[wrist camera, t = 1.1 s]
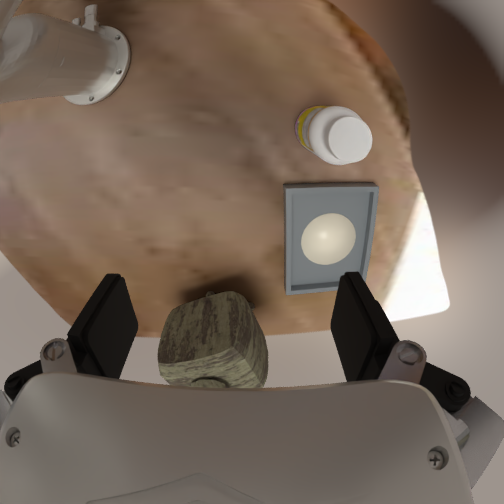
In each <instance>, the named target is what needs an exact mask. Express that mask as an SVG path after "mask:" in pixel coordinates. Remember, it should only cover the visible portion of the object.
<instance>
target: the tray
mask: <svg viewBox="0 0 504 504" xmlns="http://www.w3.org/2000/svg"><path fill="white" fill-rule="evenodd" d="M283 186H284V288H285V293H286V295H293V294H304V293H315V292H325V291H335V290H338V286H339V280H340V277H341V275H344V274H345V272H356V271H358V272H359V273H360V275H361V276H362V278H363V280H364V281H366V276H367V271H368V265H369V260H370V254H371V247H372V241H373V234H374V227H375V220H376V211H377V203H378V193H379V186H377V185H376V184H374V183H360V182H355V183H302V184H283Z"/></svg>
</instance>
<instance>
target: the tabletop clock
mask: <svg viewBox="0 0 504 504" xmlns="http://www.w3.org/2000/svg"><path fill="white" fill-rule="evenodd" d="M254 308H255V306H254V304H253V303H252V302H249V303H248V302H247V300H246V299H245V298H244V296H243V295H241V294H238V293H236V292H234V291H227V292H222V293H218V294H215V293H214V292H213V291H209V292H207V294H206V297H204V298H200V299H197V300H194V301H192V302H189V303H186V304H183V305H180V306H178V307H176V308H175V309H173V310H172V311H171V312H170V314H169V316H168V318H167V320H166V322H165V325H164V328H163V331H162V334H161V339H160V343H159V348H158V364H159V371H160V375H161V376H162V377H163V378H164V379H165V380H166V381H167V382H168V383H169V384H170V385H175V386H189V387H208V388H263V387H264V384H265V382H266V379H267V374H268V350H267V345H266V340H265V336H264V334H263V331H262V329H261V327H260V325H259V324H258V322H257V320H256V318H255V316H254V314H253V312H252V311H253V310H254Z"/></svg>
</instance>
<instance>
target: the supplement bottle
mask: <svg viewBox="0 0 504 504" xmlns="http://www.w3.org/2000/svg"><path fill="white" fill-rule="evenodd" d="M295 132H296V136H297V139H298V141H299V142H300V143H301V145H302V146H303V147H305V148H306V149H307V150H309V151H311V152H312V153H314V154H315V155H317V156H318V157H319V158H321V159H322V160H324V161H325V162H327V163H330V164H334V165H345V164H349V163H354V162H358V161H360V160H362V159H363V158H365V157H366V156H367V154H368V153H369V151H370V149H371V146H372V134H371V131H370V129H369V127H368V126H367V124H366V123H365V122H364V121H362V119H361V118H360V117H359V116H358V115H357V114H356V113H355V112H354V111H352V110H351V109H348V108H346V107H341V106H313V107H310V108H307V109H306V110H304V111H303V112H302V113H301V114H300V115H299V117H298V118H297V121H296V124H295Z"/></svg>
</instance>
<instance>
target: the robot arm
mask: <svg viewBox="0 0 504 504" xmlns="http://www.w3.org/2000/svg"><path fill="white" fill-rule="evenodd" d="M22 1H23V0H0V104H1V103H6V102H12V101H18V100H26V99H34V98H44V97H55V96H63V97H64V98H65V99H66V100H68V101H69V102H71V103H73V104H77V105H90V104H94V103H97V102H99V101H101V100H103V99H105V98H106V97H108V96H109V95H110V94H112V93H113V92H114V91H115V90H116V89H117V87H118V86H119V85H120V84H121V82H122V80H123V79H124V77H125V75H126V73H127V70H128V68H129V63H130V54H131V52H130V45H129V43H128V40H127V38H126V37H125V36H124V34H123V33H121V32H120V31H119V30H117V29H115V28H113V27H110V26H99V22H98V21H97V8H98V5H95V4H93V5H89V6H87V7H85V14H84V18H85V24H83V26H81V18H76V19H73V20H72V23H70V22H67V21H64V20H61V19H58V18H54V17H51V16H47V15H44V14H39V13H27V14H22V15H18V16H15V17H13V15H14V13H15V12H16V10H17V8H18V7H19V5H20V4H21V2H22ZM12 17H13V18H12ZM119 38H120V39H119ZM121 71H122V73H121V74H120V72H121ZM93 98H94V99H93ZM137 331H138V322H137V319H136V315H135V312H134V309H133V306H132V303H131V300H130V296H129V293H128V290H127V286H126V283H125V279H124V278H123V277H121V275H120V274H106V276H105V277H104V278H103V280H102V281H101V283H100V284H99V286H98V287H97V289H96V290H95V291H94V293H93V294H92V296H91V297H90V299H89V300H88V302H87V303H86V305H85V307H84V308H83V310H82V311H81V313H80V314H79V316H78V317H77V319H76V321H75V322H74V324H73V325H72V327H71V329H70V330H69V332H68V334H67V335H68V338H67V340H64V339H61V338H56V339H53V340H51V341H49V342H47V343H46V344H45V345H44V346H43V348H42V350H41V352H40V358H41V360H39V361H37V362H34V363H32V364H30V365H28V366H26V367H25V368H22V369H20V370H19V371H16V372H14V373H13V374H11V375H10V376H9V377H8V378H7V380H6V382H5V385H4V390H5V391H2V390H0V504H474V503H473V497H472V492H471V489H472V488H473V487H474V485H475V484H476V482H477V481H478V479H479V478H480V476H481V475H482V473H483V471H484V470H485V469H486V467H487V466H488V464H489V462H490V461H491V459H492V457H493V456H494V454H495V452H496V450H497V449H498V447H499V445H500V443H501V441H502V439H503V438H504V420H503V419H502V418H501V417H500V416H499V415H498V414H496V413H495V412H494V411H493V410H492V409H490V408H489V407H488V406H487V405H486V404H485V403H483V402H482V401H481V400H480V399H478V398H477V397H476V396H475V397H474V398H472V397H471V396H470V394H471V392H470V388H469V386H468V384H467V383H466V382H465V381H464V380H463V379H462V378H460V377H458V376H456V375H453V374H451V373H449V372H447V371H445V370H443V369H441V368H438V367H436V366H434V365H432V364H430V363H428V362H426V358H427V356H426V352H425V350H424V349H423V347H421V346H420V345H419V344H417V343H416V342H413V341H409V340H403V341H400V340H399V339H398V337H397V335H396V333H395V331H394V329H393V327H392V325H391V324H390V322H389V320H388V318H387V316H386V314H385V313H384V311H383V309H382V307H381V305H380V304H379V302H378V301H377V300H375V299H374V297H373V295H372V293H371V292H370V290H369V288H368V286H367V285H366V283H365V281H364V280H363V278H362V276H361V275H360V273H359V272H358V271H356V272H345V274H344V275H341V277H340V280H339V286H338V291H337V296H336V301H335V305H334V310H333V315H332V319H331V332H332V335H333V338H334V341H335V344H336V347H337V350H338V354H339V357H340V360H341V363H342V367H343V370H344V374H345V377H346V380H347V382H343V383H333V384H322V385H309V386H297V387H276V388H208V387H189V386H175V385H163V384H152V383H144V382H136V381H129V380H121V379H119V378H120V375H121V372H122V369H123V366H124V364H125V361H126V359H127V356H128V353H129V351H130V348H131V346H132V343H133V341H134V338H135V336H136V333H137Z"/></svg>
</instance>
